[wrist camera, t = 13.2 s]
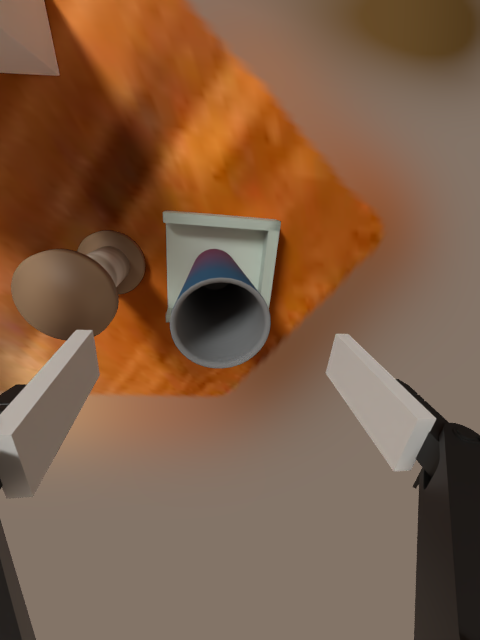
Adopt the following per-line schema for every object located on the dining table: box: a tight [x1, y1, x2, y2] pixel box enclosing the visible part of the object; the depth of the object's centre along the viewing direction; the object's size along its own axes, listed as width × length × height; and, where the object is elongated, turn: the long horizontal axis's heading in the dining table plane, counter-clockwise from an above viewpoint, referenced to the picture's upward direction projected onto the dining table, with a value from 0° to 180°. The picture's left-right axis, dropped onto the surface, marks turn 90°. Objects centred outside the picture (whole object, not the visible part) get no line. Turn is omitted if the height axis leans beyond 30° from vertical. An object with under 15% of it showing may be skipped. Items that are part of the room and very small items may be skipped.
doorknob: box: [11, 230, 146, 340], centre depth 26 cm, size 7×7×12 cm
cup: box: [170, 249, 271, 368], centre depth 25 cm, size 7×7×15 cm
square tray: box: [163, 210, 281, 322], centre depth 32 cm, size 12×12×3 cm
